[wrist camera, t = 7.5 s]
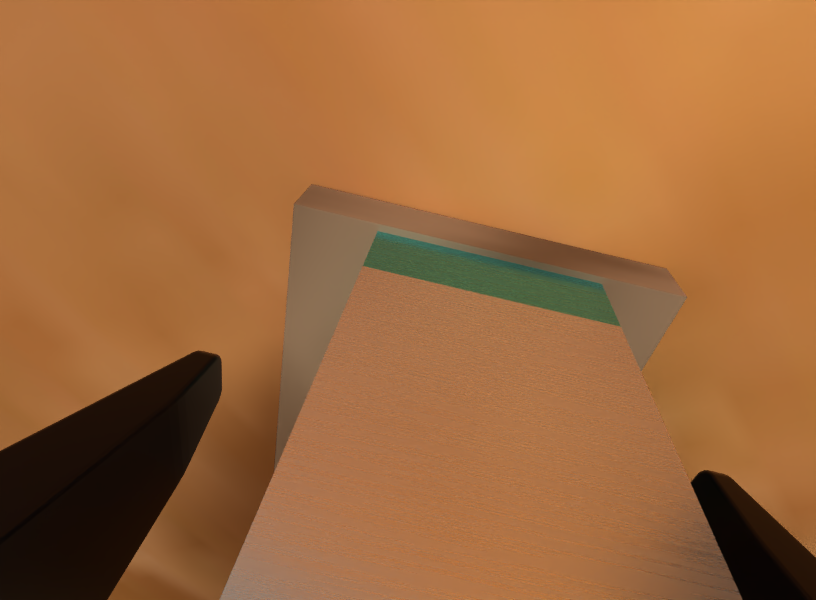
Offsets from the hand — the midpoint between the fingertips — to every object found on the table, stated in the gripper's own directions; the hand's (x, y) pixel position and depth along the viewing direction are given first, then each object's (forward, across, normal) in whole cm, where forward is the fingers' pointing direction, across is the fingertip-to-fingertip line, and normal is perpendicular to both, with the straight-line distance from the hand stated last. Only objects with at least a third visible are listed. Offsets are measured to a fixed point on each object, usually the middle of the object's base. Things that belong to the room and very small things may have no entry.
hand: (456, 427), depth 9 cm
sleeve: (+2, 0, 0) cm, 2 cm away
